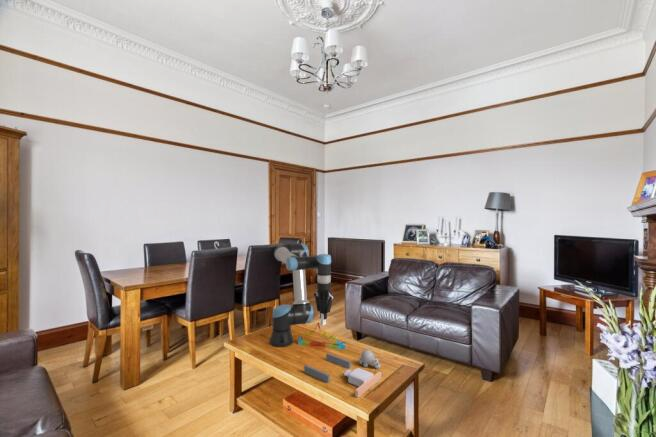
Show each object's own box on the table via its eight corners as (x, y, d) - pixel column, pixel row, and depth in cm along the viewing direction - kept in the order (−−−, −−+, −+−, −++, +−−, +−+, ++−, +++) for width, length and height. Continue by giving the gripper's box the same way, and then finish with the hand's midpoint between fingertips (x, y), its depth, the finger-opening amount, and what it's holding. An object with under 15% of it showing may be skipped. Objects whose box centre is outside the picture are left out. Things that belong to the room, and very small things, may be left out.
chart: (345, 347, 194) (345, 324, 194) (344, 349, 191) (345, 325, 191) (299, 343, 200) (299, 320, 200) (298, 345, 197) (298, 321, 197)
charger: (348, 372, 163) (373, 382, 153) (338, 379, 156) (363, 390, 146) (349, 363, 163) (373, 372, 153) (338, 369, 156) (363, 380, 146)
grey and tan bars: (302, 373, 161) (302, 366, 161) (328, 358, 178) (328, 352, 178) (357, 397, 139) (357, 390, 139) (381, 378, 157) (381, 371, 157)
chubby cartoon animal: (374, 376, 164) (380, 363, 162) (356, 362, 170) (361, 349, 168) (380, 370, 170) (385, 358, 168) (362, 357, 176) (367, 345, 174)
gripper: (310, 281, 171) (310, 323, 172) (328, 285, 163) (328, 329, 163) (319, 279, 177) (318, 320, 177) (337, 282, 169) (336, 325, 169)
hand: (323, 324), depth 170 cm, fingers closed
